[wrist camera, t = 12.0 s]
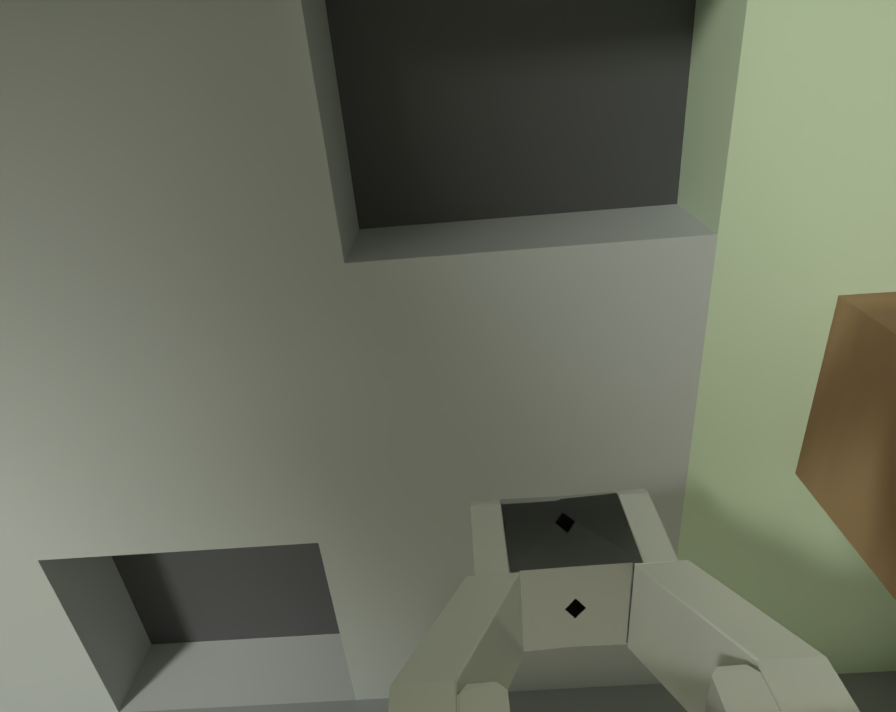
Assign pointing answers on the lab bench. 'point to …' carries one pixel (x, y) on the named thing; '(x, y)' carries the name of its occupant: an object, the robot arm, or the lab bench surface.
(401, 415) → the box
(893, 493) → the walnut block
